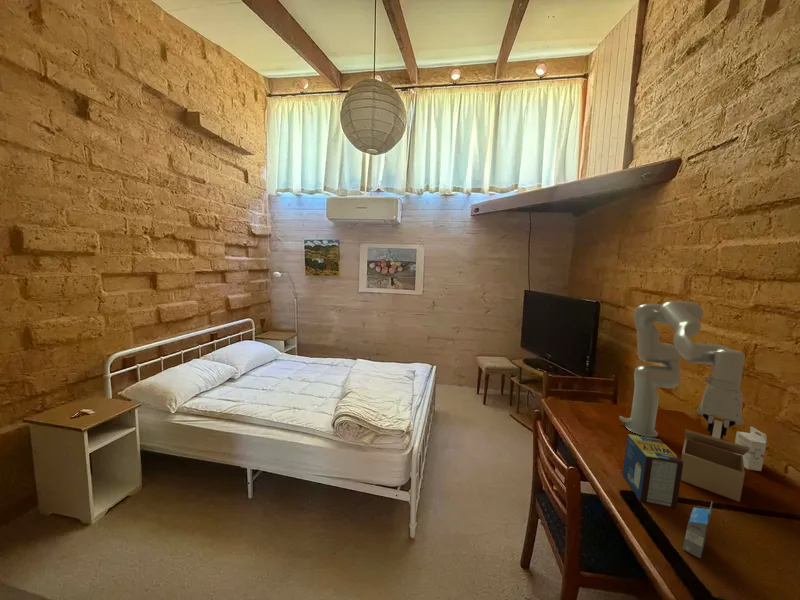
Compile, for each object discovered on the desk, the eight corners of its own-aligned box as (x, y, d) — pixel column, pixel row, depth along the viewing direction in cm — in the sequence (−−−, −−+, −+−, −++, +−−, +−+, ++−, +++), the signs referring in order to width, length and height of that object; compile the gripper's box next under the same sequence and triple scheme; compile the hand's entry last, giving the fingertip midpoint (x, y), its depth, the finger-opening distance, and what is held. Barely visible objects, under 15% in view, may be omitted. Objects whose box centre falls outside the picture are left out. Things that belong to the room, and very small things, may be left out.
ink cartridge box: (730, 457, 142) (736, 423, 141) (744, 459, 141) (751, 425, 140) (747, 469, 134) (753, 433, 133) (762, 471, 133) (769, 435, 132)
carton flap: (684, 431, 123) (688, 412, 125) (684, 437, 135) (687, 420, 137) (749, 450, 112) (752, 429, 114) (743, 455, 124) (745, 436, 126)
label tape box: (687, 533, 97) (693, 493, 96) (706, 542, 94) (713, 500, 93) (681, 549, 91) (689, 506, 90) (702, 560, 88) (709, 515, 87)
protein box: (654, 480, 123) (660, 438, 121) (677, 509, 108) (684, 462, 106) (621, 474, 125) (627, 433, 123) (639, 501, 110) (646, 455, 109)
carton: (677, 479, 124) (682, 452, 123) (681, 462, 136) (685, 438, 135) (739, 501, 113) (744, 473, 112) (737, 481, 125) (742, 455, 124)
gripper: (693, 380, 122) (685, 430, 124) (758, 394, 111) (748, 448, 113) (695, 376, 127) (687, 424, 129) (756, 389, 116) (747, 440, 118)
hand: (716, 434), depth 121 cm, fingers closed on carton flap, 2 cm apart
